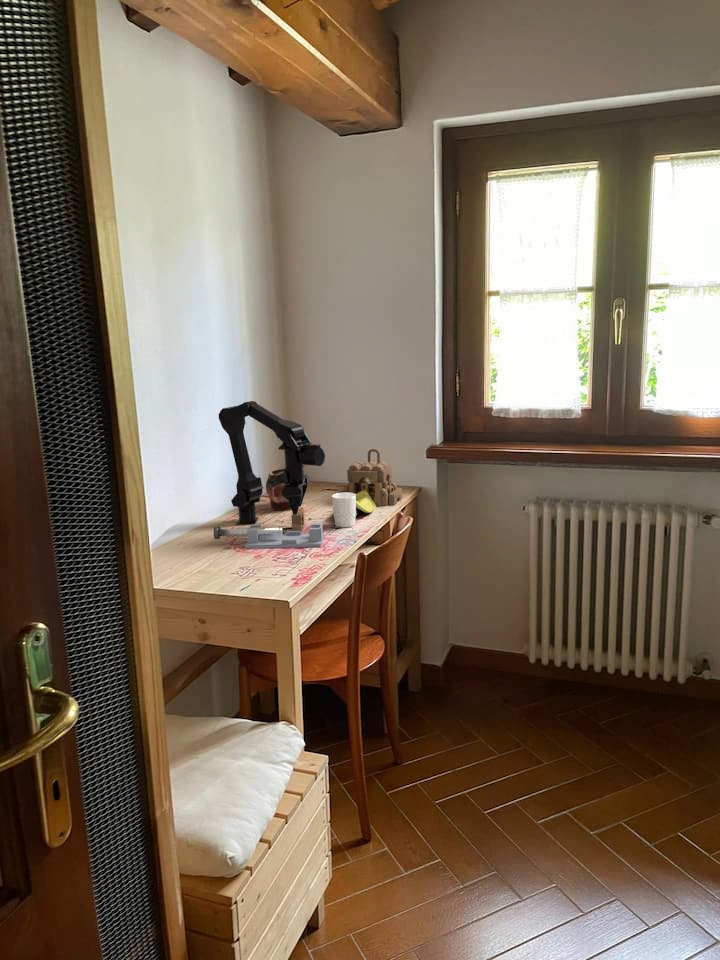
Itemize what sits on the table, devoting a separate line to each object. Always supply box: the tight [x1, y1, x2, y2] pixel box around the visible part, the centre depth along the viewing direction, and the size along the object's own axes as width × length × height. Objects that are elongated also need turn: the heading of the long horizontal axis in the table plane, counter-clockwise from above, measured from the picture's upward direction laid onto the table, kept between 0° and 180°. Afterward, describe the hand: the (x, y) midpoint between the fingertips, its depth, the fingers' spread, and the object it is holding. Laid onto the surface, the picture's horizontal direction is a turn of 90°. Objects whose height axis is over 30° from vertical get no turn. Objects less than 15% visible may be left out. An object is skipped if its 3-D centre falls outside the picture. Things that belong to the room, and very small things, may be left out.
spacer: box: [291, 509, 305, 533], centre depth 238 cm, size 7×3×6 cm, turn 176°
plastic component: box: [356, 491, 377, 516], centre depth 254 cm, size 20×7×10 cm
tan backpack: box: [336, 448, 403, 507], centre depth 269 cm, size 22×15×19 cm, turn 69°
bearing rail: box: [244, 522, 325, 549], centre depth 225 cm, size 10×23×5 cm, turn 86°
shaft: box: [213, 525, 284, 540], centre depth 225 cm, size 4×21×4 cm, turn 86°
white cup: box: [331, 492, 357, 528], centre depth 241 cm, size 8×8×10 cm
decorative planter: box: [265, 468, 292, 511], centre depth 263 cm, size 20×12×14 cm, turn 168°
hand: (297, 510), depth 237 cm, fingers open, 9 cm apart
